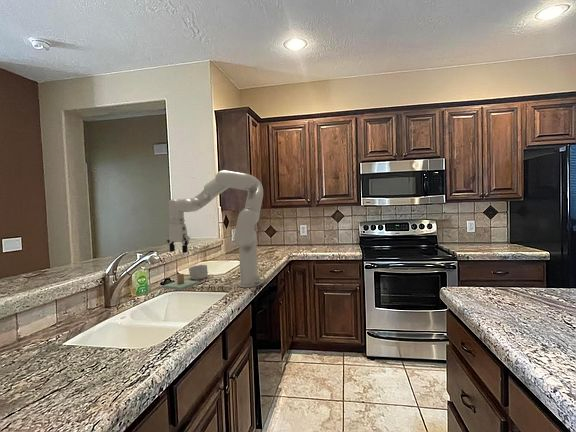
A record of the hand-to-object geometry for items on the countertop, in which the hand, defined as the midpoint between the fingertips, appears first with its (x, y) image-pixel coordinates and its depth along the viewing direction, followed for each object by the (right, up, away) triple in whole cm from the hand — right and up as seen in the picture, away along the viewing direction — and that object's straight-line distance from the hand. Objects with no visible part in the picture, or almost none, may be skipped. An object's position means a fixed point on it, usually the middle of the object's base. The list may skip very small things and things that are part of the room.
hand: (178, 252), depth 185 cm
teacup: (+7, -18, +17) cm, 26 cm away
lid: (+1, -19, +1) cm, 19 cm away
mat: (+1, -19, +1) cm, 19 cm away
